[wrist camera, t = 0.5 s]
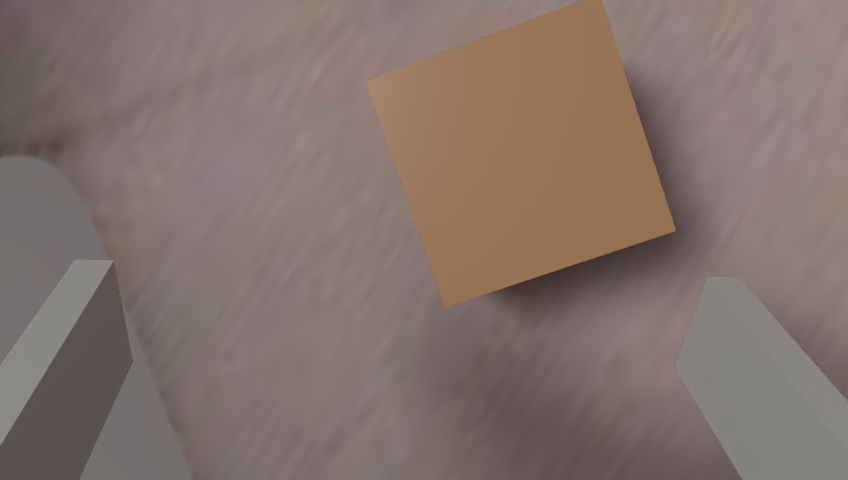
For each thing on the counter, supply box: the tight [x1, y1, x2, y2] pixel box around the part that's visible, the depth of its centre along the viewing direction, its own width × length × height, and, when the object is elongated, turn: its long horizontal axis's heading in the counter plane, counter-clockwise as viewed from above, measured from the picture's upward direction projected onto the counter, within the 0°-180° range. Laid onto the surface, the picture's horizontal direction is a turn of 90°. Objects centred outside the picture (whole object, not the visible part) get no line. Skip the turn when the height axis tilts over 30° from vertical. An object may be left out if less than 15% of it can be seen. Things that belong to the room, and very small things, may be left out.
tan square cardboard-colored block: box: [366, 0, 676, 308], centre depth 26 cm, size 8×8×10 cm
